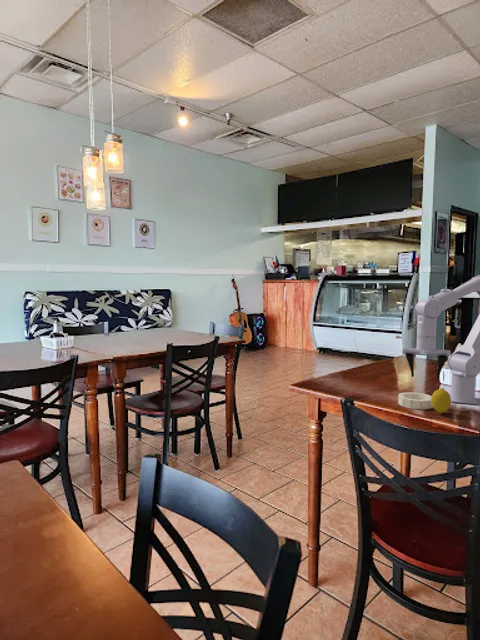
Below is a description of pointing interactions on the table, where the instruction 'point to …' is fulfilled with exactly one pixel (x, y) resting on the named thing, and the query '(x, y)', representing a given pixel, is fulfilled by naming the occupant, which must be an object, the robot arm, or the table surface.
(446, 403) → the lemon
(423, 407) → the ring dish
